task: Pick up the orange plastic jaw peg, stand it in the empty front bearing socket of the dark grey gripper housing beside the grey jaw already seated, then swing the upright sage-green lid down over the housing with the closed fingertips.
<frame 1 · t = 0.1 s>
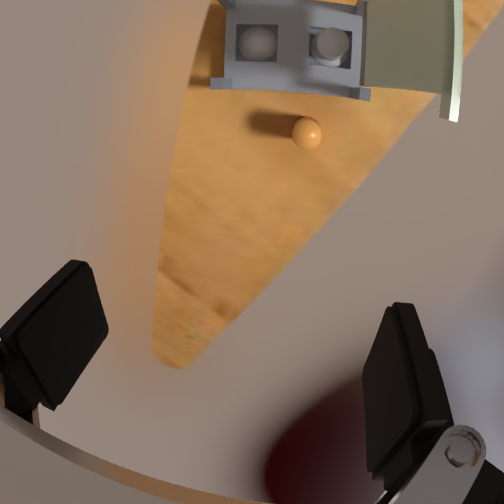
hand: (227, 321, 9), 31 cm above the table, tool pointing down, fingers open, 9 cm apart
housing: (294, 46, 30), on the table
orange jaw: (307, 129, 35), on the table
lid: (399, 35, 17), point 15 cm above the table, hinge at 100.0°
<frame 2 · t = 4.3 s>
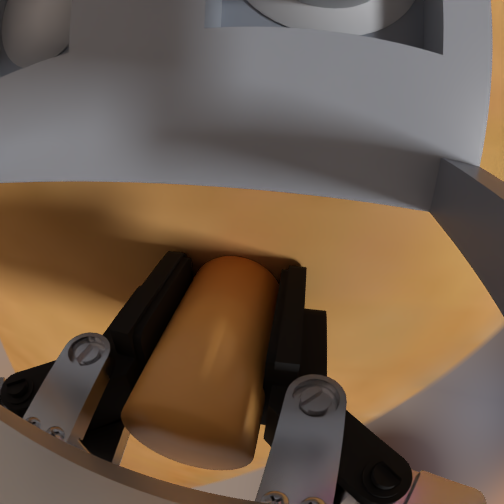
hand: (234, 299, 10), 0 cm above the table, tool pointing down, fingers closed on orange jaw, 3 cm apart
orange jaw: (236, 295, 11), on the table, touching gripper
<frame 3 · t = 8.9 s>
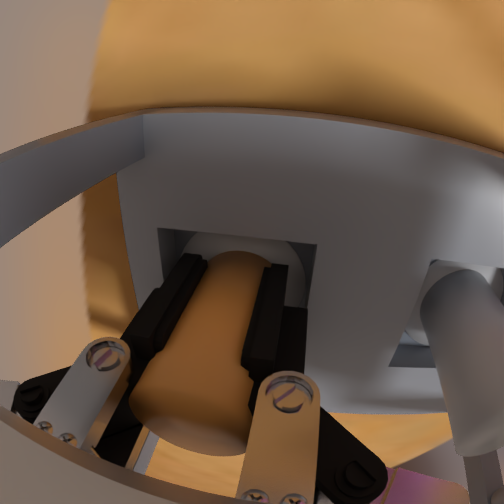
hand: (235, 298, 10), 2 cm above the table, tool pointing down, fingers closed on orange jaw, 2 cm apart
housing: (353, 277, 11), on the table
orange jaw: (242, 289, 11), point 1 cm above the table, touching gripper
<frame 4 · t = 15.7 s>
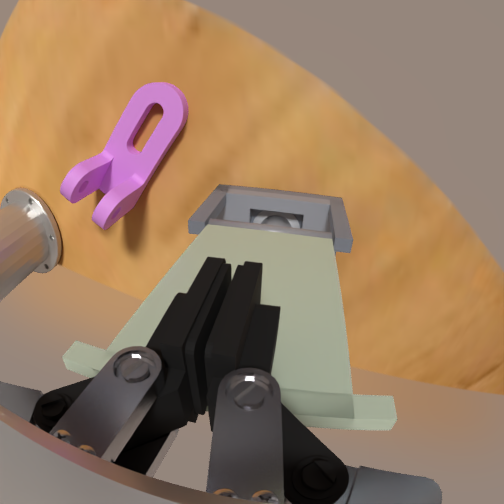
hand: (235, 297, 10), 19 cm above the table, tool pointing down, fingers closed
housing: (273, 262, 32), on the table
lid: (253, 284, 15), point 15 cm above the table, hinge at 94.5°, touching gripper
bracket: (142, 142, 28), on the table
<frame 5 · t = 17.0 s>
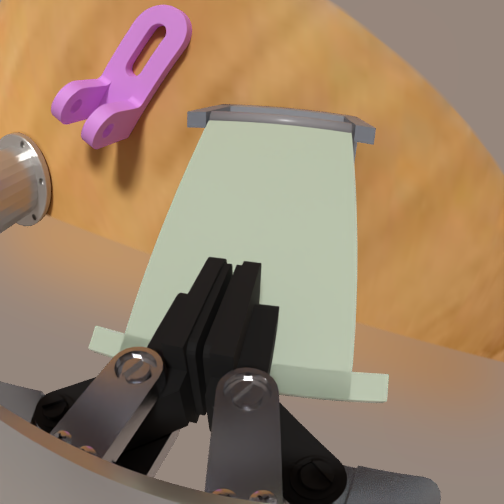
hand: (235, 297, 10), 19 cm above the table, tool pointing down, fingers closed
housing: (282, 191, 28), on the table
lid: (262, 213, 14), point 14 cm above the table, hinge at 60.9°, touching gripper
bracket: (142, 67, 25), on the table
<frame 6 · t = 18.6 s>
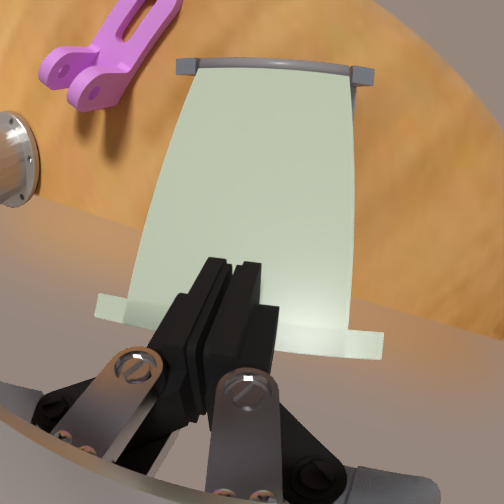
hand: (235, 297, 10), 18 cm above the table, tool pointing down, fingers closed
housing: (278, 155, 26), on the table
lid: (256, 164, 14), point 13 cm above the table, hinge at 47.5°, touching gripper
bracket: (132, 35, 22), on the table
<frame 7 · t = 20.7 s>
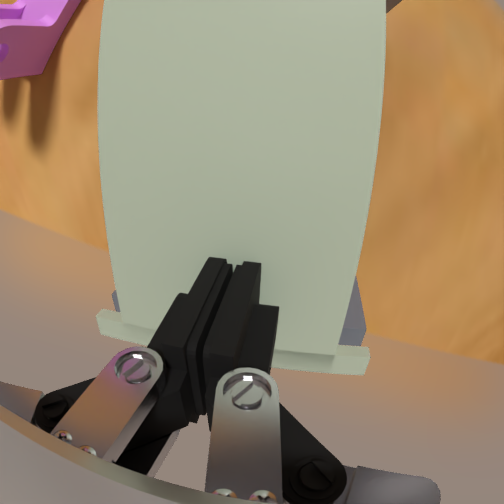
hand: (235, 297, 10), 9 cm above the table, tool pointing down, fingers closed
housing: (261, 125, 16), on the table
lid: (226, 159, 9), point 8 cm above the table, hinge at 3.5°, touching gripper
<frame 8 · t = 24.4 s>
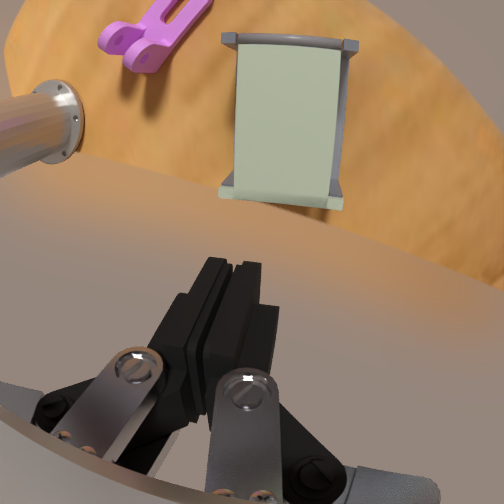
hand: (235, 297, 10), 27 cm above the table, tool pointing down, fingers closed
housing: (290, 112, 32), on the table
lid: (285, 118, 25), point 8 cm above the table, hinge at 1.5°
bracket: (172, 19, 28), on the table
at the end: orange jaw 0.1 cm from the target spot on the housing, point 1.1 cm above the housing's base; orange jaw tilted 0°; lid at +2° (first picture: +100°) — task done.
